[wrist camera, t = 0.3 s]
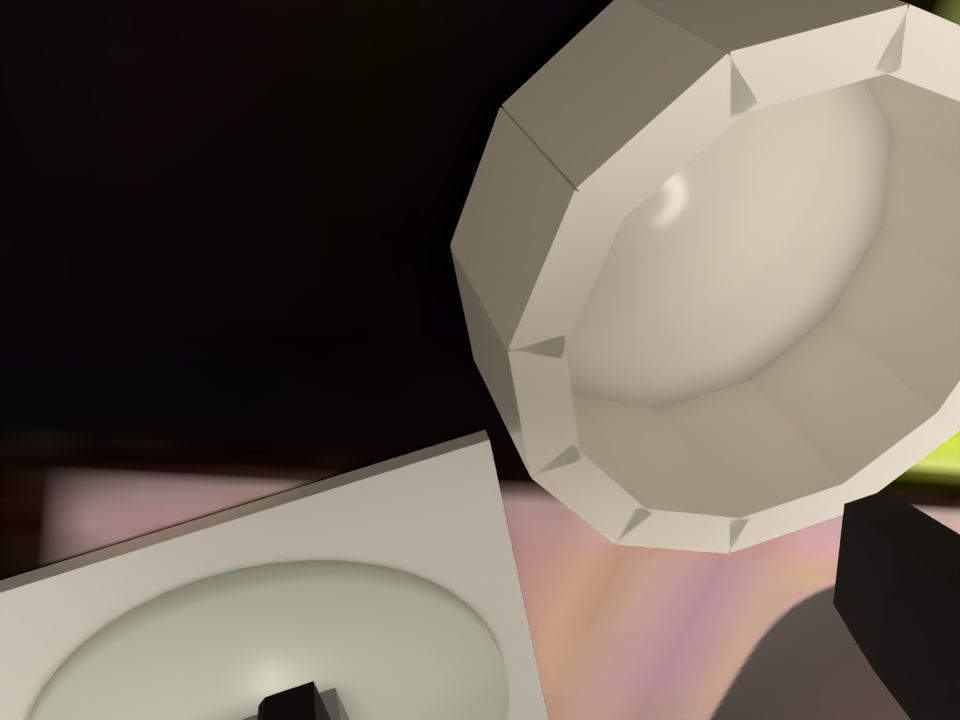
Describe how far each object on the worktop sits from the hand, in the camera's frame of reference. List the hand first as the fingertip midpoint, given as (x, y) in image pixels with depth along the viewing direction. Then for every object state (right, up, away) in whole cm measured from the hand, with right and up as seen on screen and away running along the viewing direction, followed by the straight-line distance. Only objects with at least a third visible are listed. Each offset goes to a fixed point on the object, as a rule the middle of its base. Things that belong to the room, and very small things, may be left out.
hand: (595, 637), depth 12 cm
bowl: (+3, +7, +9) cm, 11 cm away
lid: (-7, -7, +14) cm, 17 cm away
